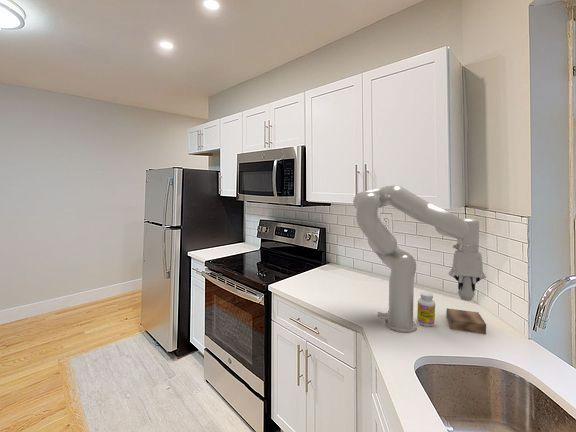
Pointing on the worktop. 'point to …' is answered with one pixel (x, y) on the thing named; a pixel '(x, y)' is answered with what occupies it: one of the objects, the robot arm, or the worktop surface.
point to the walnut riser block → (465, 321)
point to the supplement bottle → (426, 309)
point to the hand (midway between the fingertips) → (466, 291)
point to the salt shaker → (466, 289)
